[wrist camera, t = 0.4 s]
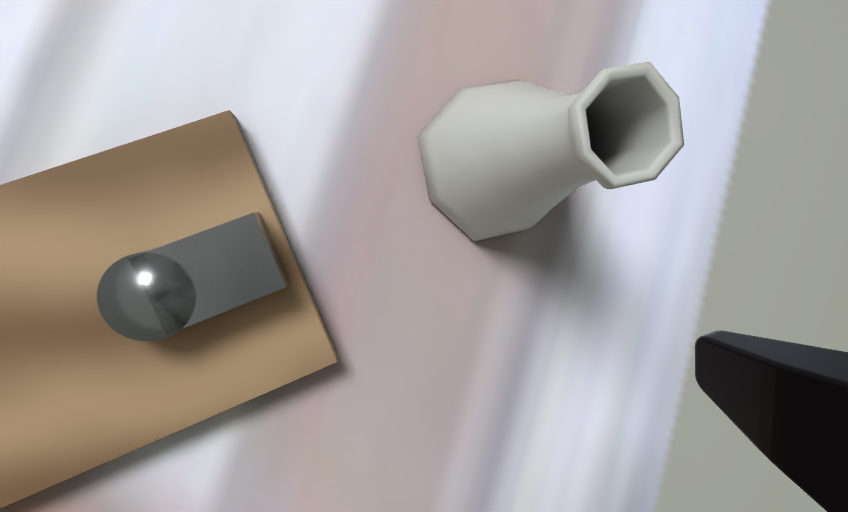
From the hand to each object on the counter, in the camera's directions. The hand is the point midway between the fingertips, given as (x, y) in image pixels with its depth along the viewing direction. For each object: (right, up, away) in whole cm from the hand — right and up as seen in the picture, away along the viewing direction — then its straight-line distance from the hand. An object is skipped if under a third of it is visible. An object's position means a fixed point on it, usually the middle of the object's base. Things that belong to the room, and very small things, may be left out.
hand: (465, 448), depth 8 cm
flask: (+3, +8, +15) cm, 17 cm away
